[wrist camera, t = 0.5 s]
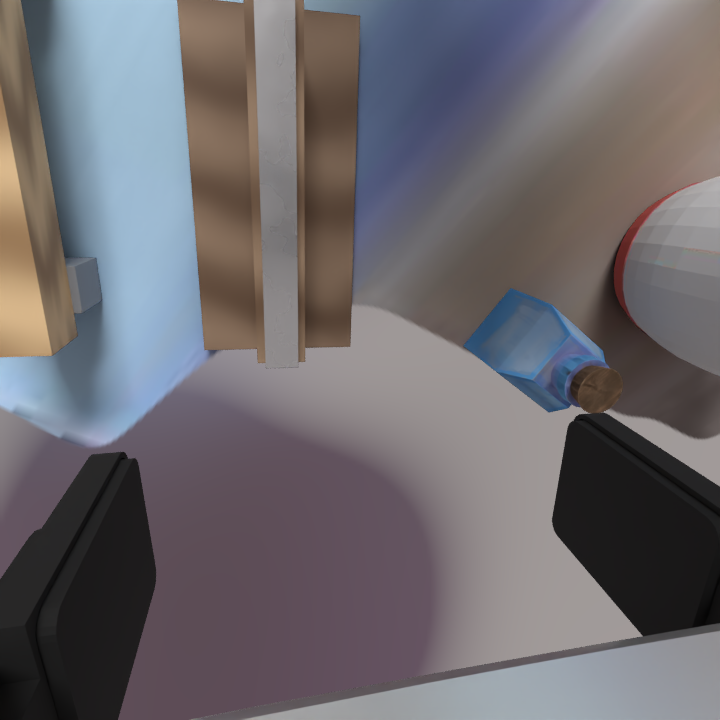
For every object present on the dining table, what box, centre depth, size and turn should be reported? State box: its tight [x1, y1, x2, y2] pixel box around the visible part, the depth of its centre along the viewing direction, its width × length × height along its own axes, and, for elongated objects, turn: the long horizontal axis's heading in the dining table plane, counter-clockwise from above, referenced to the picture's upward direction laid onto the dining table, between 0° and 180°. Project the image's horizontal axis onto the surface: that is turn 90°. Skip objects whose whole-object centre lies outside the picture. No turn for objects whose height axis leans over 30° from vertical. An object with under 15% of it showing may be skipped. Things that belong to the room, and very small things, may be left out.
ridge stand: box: [177, 0, 360, 368], centre depth 30 cm, size 22×11×8 cm, turn 178°
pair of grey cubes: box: [64, 257, 102, 313], centre depth 28 cm, size 23×5×4 cm, turn 178°
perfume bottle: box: [464, 288, 623, 413], centre depth 36 cm, size 6×6×12 cm
